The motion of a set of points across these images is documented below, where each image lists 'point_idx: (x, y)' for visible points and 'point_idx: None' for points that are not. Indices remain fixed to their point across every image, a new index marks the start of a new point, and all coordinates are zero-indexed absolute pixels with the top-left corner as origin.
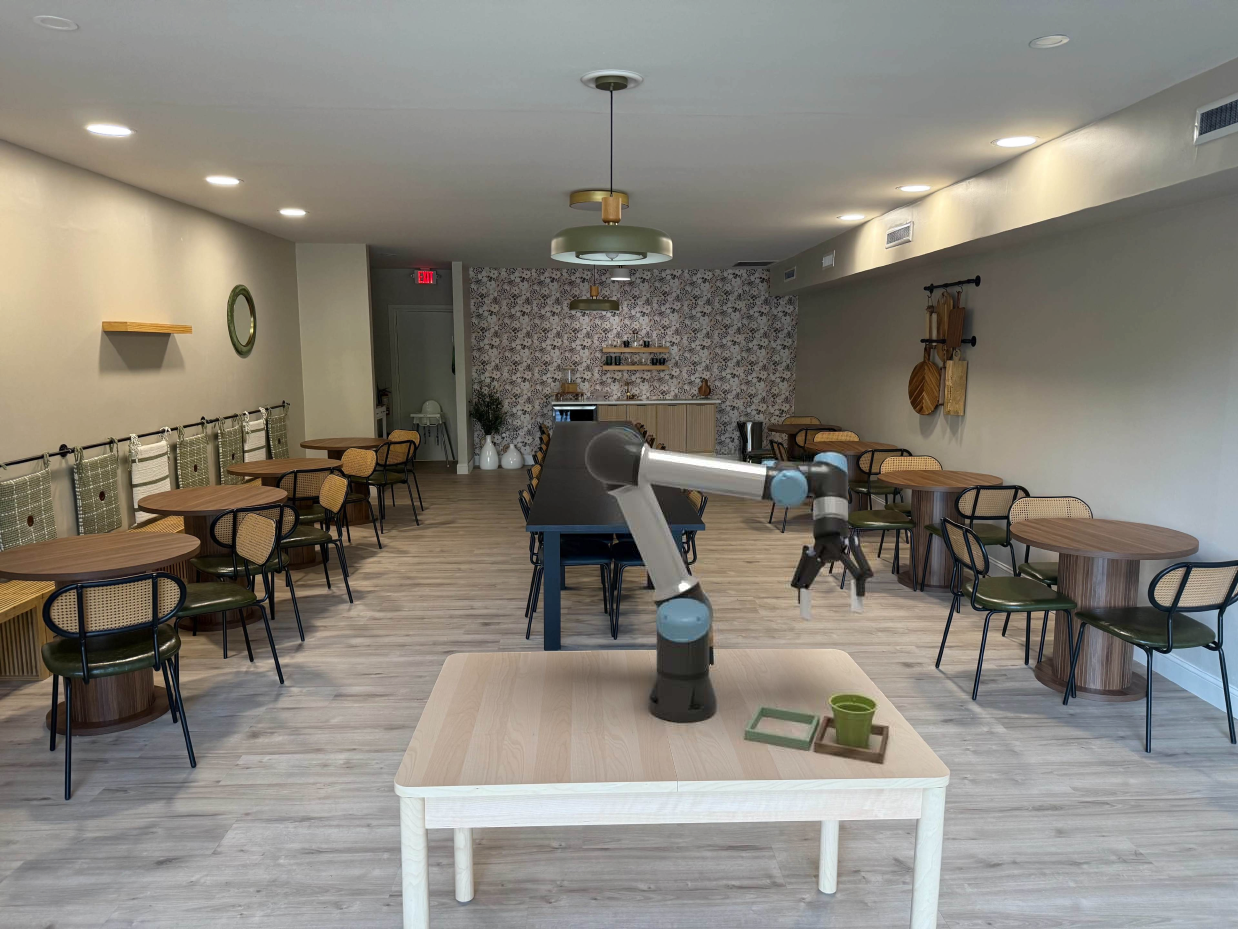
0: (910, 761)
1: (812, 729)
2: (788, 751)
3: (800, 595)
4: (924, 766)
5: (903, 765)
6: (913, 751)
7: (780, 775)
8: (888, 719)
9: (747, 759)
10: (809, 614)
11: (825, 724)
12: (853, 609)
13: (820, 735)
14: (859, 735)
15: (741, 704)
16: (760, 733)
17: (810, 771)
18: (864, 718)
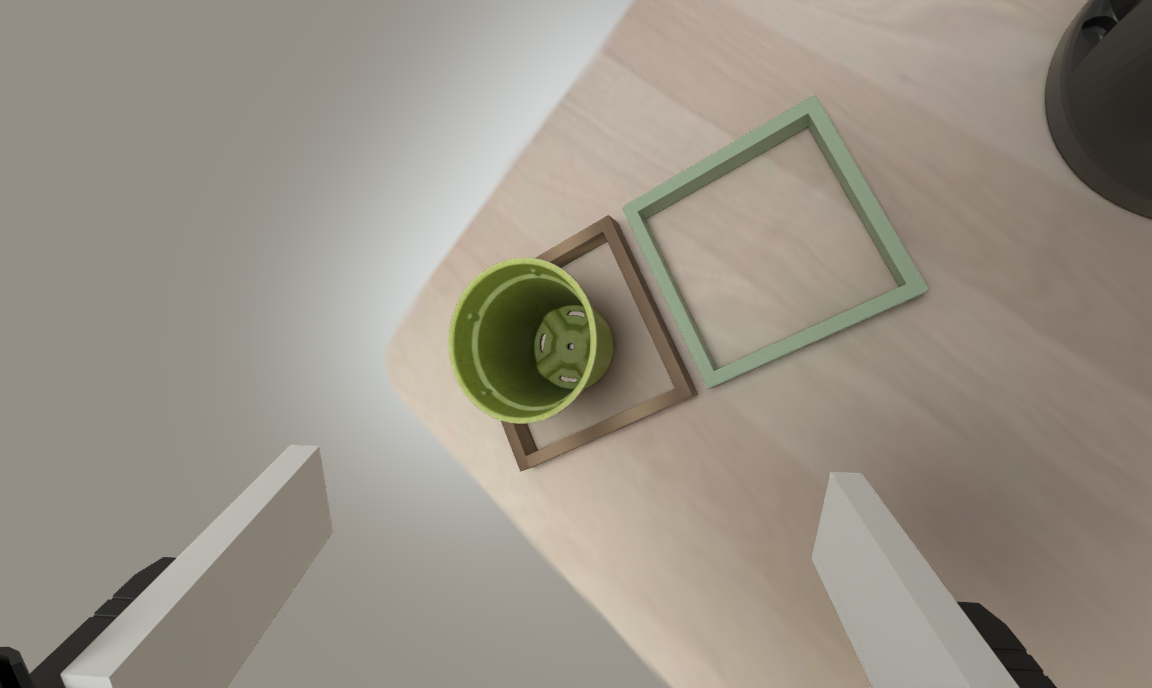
0: (436, 371)
1: (659, 278)
2: (667, 166)
3: (983, 646)
4: (407, 373)
5: (438, 340)
6: (453, 426)
7: (603, 54)
8: (583, 572)
9: (718, 33)
10: (831, 579)
11: (655, 344)
12: (291, 453)
13: (620, 265)
14: (517, 314)
15: (1049, 310)
16: (761, 126)
17: (565, 134)
18: (476, 311)
